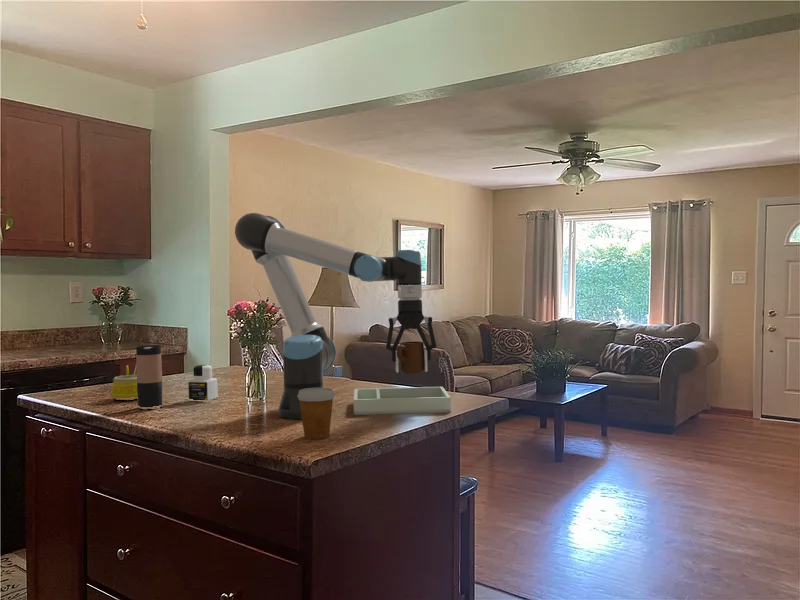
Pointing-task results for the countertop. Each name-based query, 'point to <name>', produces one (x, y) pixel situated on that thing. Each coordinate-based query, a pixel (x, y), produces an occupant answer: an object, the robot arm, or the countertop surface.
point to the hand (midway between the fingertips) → (411, 371)
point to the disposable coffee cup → (316, 411)
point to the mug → (411, 357)
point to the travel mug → (149, 375)
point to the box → (401, 400)
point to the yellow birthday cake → (125, 385)
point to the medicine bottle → (203, 384)
